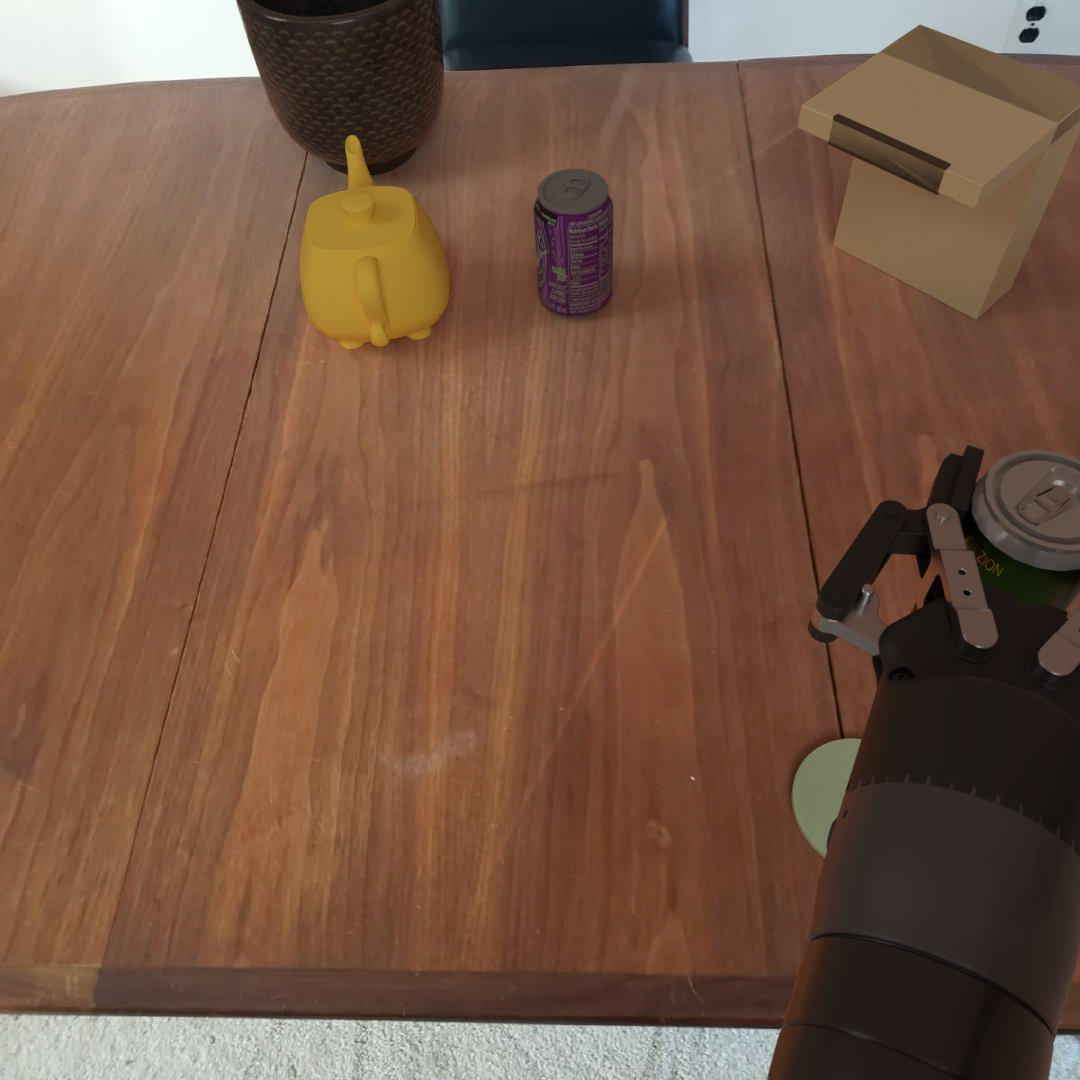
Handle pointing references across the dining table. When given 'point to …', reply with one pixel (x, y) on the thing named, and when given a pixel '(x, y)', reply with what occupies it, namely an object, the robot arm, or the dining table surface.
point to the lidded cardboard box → (946, 162)
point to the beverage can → (574, 242)
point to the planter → (350, 73)
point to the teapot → (371, 262)
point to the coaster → (822, 789)
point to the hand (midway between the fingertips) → (1043, 483)
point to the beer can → (1028, 527)
